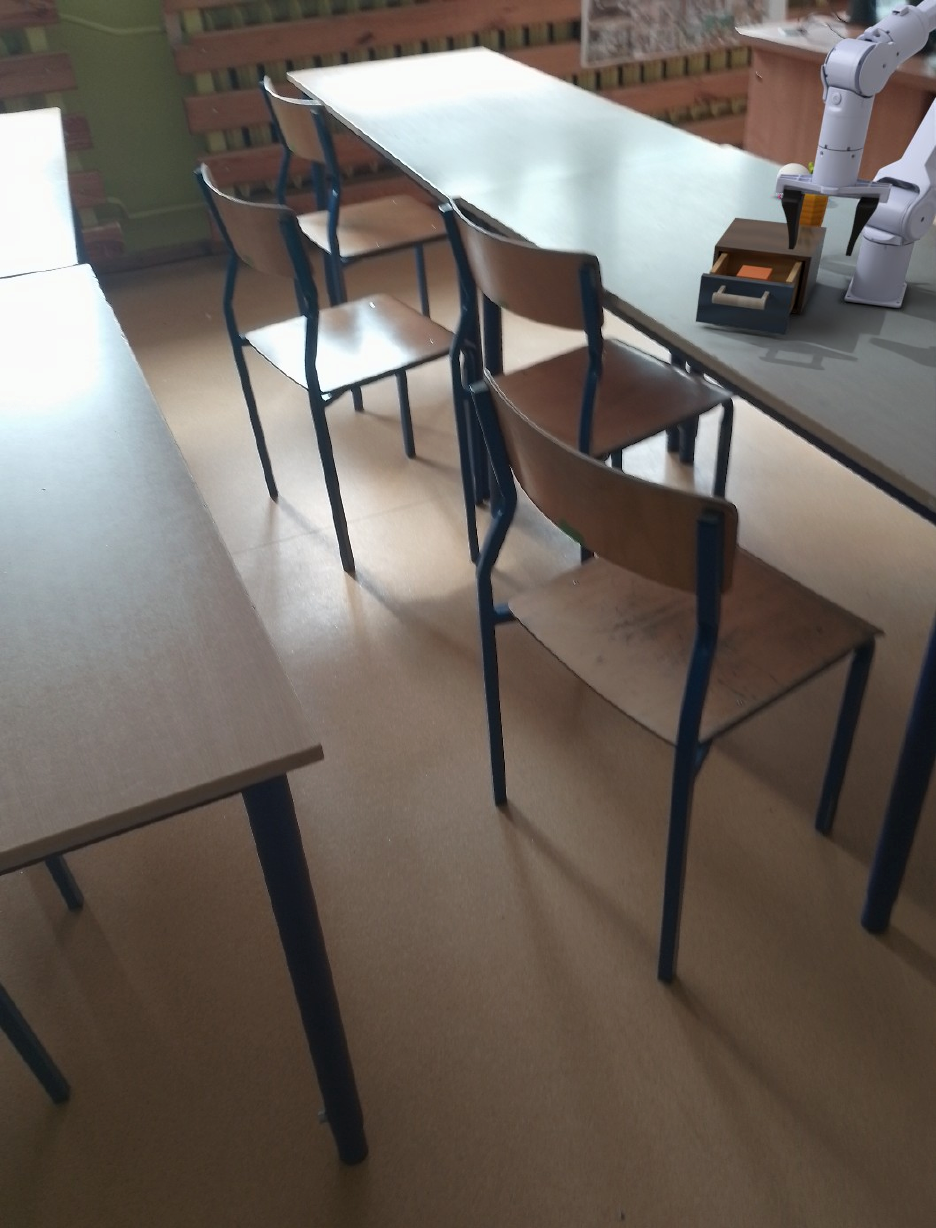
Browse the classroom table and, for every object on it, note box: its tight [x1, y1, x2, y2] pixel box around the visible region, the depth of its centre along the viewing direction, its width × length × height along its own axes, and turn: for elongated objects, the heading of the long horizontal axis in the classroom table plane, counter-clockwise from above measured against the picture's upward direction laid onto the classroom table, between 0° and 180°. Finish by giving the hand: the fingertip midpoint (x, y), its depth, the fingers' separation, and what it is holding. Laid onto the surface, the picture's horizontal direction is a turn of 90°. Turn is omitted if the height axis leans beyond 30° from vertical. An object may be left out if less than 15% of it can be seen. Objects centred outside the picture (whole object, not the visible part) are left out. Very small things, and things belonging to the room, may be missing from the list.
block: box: [737, 265, 772, 281], centre depth 141 cm, size 4×4×5 cm
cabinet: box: [711, 217, 827, 315], centre depth 149 cm, size 13×14×8 cm
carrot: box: [799, 161, 830, 227], centre depth 157 cm, size 5×5×15 cm
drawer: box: [695, 252, 804, 335], centre depth 140 cm, size 17×13×7 cm
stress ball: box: [776, 162, 810, 199], centre depth 186 cm, size 8×8×7 cm
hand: (820, 250), depth 137 cm, fingers open, 7 cm apart
